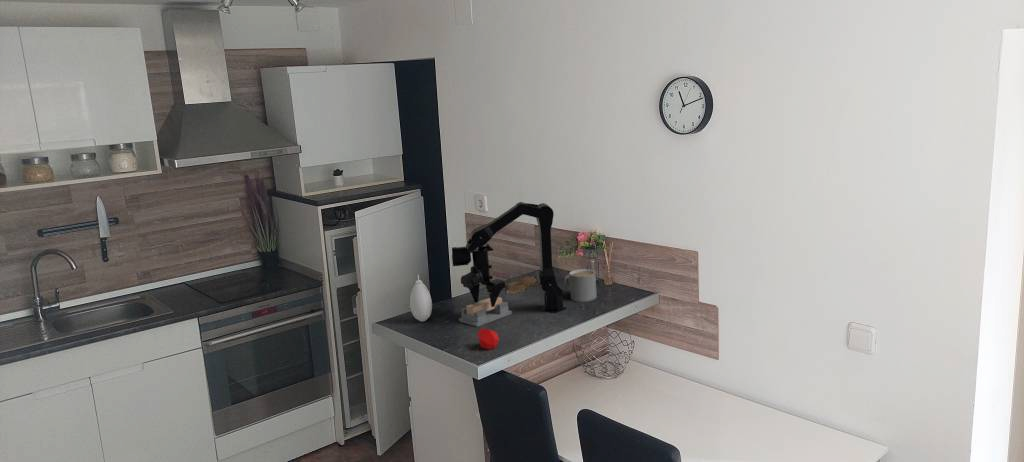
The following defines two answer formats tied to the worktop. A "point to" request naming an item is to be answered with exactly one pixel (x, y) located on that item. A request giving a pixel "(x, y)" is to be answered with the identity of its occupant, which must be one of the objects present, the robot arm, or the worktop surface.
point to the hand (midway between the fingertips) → (484, 304)
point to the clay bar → (482, 306)
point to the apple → (488, 339)
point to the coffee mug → (582, 285)
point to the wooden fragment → (520, 285)
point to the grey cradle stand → (485, 315)
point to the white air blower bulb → (420, 301)
